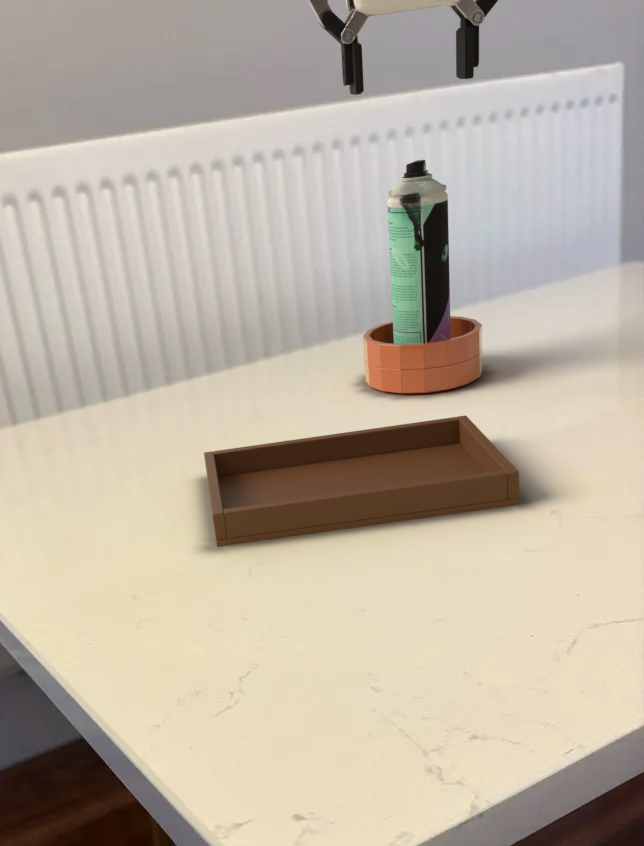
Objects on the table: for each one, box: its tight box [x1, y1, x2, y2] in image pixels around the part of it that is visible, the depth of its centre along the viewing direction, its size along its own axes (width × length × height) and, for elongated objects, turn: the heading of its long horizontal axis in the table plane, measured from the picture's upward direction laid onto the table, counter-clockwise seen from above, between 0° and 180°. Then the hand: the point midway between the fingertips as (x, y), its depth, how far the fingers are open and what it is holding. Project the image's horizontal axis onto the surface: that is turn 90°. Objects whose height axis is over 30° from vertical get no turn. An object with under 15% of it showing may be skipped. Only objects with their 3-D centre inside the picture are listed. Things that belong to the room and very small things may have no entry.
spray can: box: [386, 159, 451, 344], centre depth 98 cm, size 6×6×20 cm
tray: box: [203, 415, 520, 547], centre depth 78 cm, size 22×14×3 cm, turn 92°
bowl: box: [362, 315, 483, 395], centre depth 102 cm, size 11×11×5 cm
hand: (410, 86), depth 91 cm, fingers open, 9 cm apart
